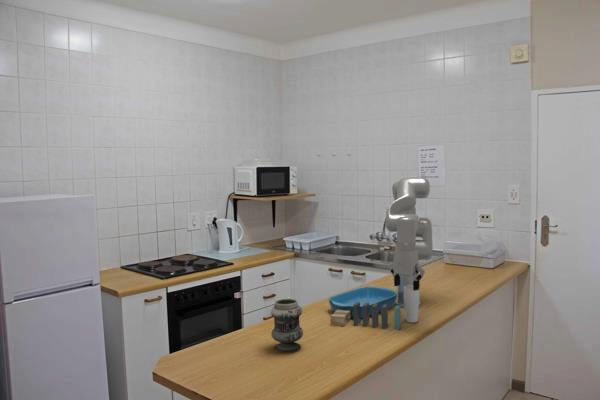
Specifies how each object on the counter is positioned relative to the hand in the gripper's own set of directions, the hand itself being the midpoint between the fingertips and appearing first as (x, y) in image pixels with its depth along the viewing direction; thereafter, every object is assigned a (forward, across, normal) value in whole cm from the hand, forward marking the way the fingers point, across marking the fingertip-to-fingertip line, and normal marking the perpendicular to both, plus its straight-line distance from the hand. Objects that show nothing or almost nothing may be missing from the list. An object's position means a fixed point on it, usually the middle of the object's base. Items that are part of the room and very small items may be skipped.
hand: (406, 287), depth 203 cm
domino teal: (+17, -3, -2) cm, 18 cm away
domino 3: (+17, -12, -6) cm, 22 cm away
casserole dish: (+18, -31, +8) cm, 37 cm away
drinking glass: (+18, -5, +10) cm, 21 cm away
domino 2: (+17, -15, -8) cm, 24 cm away
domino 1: (+17, -19, -10) cm, 27 cm away
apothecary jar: (+17, -17, -49) cm, 55 cm away
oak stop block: (+17, -25, -14) cm, 33 cm away
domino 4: (+17, -8, -5) cm, 20 cm away
